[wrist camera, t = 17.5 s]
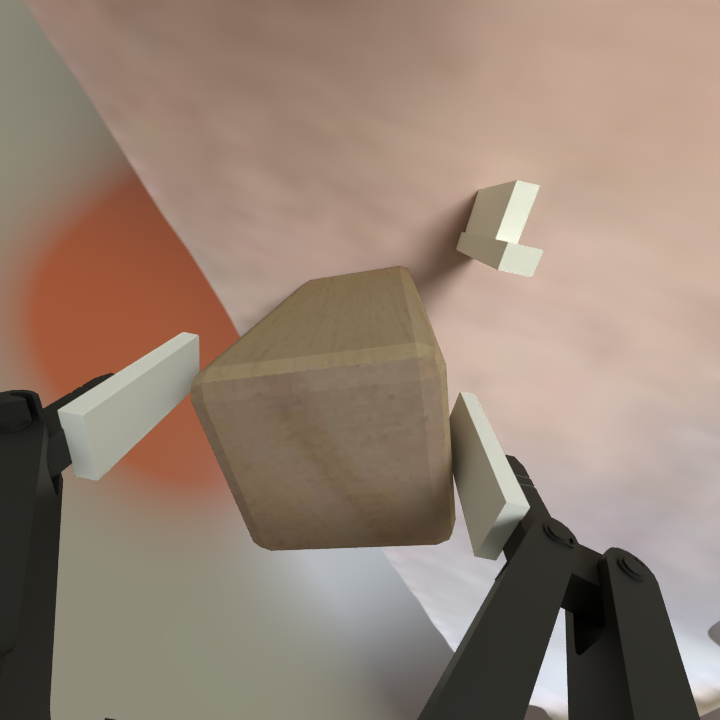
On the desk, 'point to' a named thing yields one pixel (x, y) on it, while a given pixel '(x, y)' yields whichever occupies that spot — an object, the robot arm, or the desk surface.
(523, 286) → the desk surface
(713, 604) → the desk surface
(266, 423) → the wooden block
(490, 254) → the l-shaped block
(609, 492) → the desk surface
